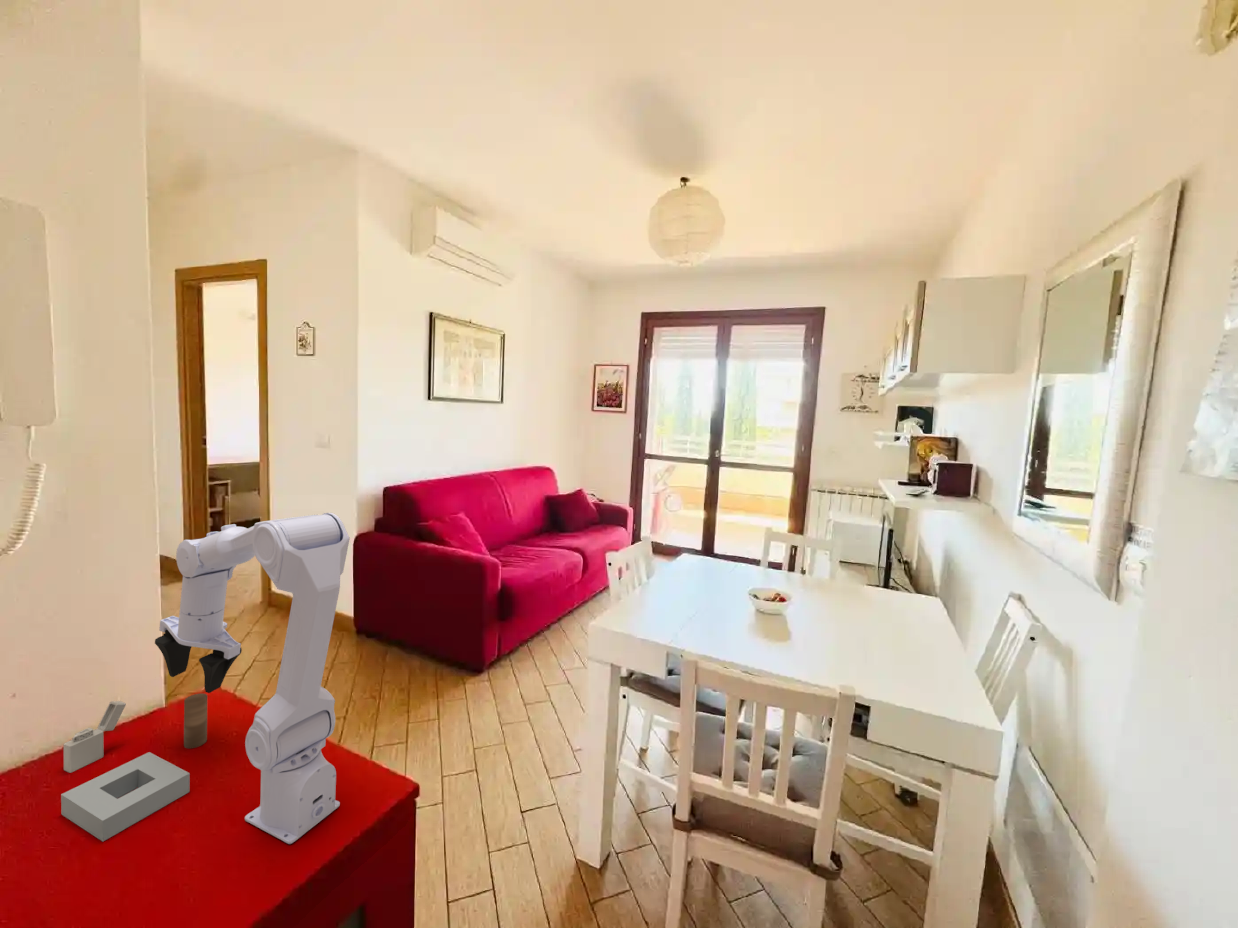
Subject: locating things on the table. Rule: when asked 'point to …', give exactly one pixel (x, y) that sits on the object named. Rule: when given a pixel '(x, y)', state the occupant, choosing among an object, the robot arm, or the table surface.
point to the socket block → (110, 815)
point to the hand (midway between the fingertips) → (195, 681)
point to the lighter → (91, 740)
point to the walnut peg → (195, 720)
